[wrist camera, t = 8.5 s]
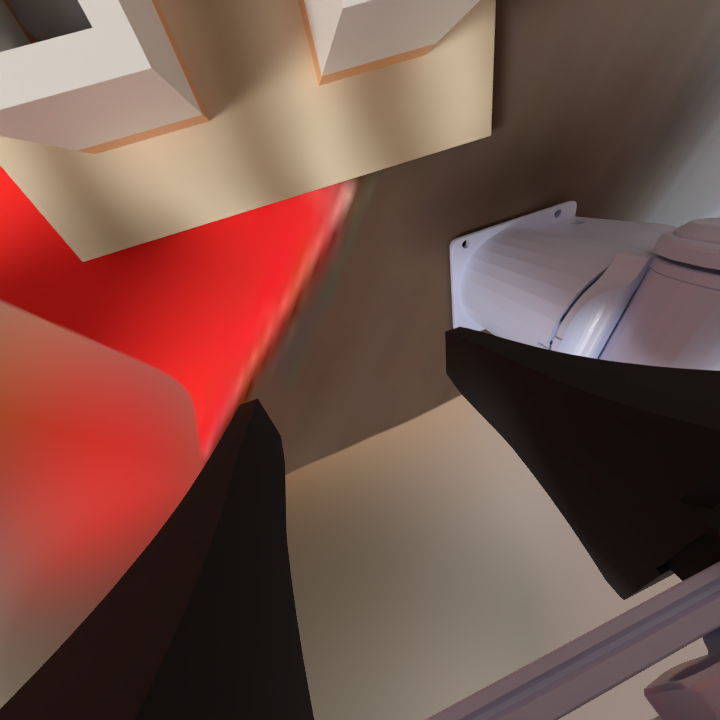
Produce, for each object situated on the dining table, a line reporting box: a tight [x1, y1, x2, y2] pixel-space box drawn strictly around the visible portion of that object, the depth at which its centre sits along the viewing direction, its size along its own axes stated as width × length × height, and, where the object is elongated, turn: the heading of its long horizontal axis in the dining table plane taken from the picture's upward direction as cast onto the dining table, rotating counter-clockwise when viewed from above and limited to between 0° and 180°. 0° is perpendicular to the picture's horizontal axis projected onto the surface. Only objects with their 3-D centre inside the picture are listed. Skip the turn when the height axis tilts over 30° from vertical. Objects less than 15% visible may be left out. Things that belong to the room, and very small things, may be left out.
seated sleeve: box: [0, 0, 209, 154], centre depth 7 cm, size 5×5×6 cm
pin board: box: [0, 0, 496, 262], centre depth 9 cm, size 22×12×5 cm, turn 104°
